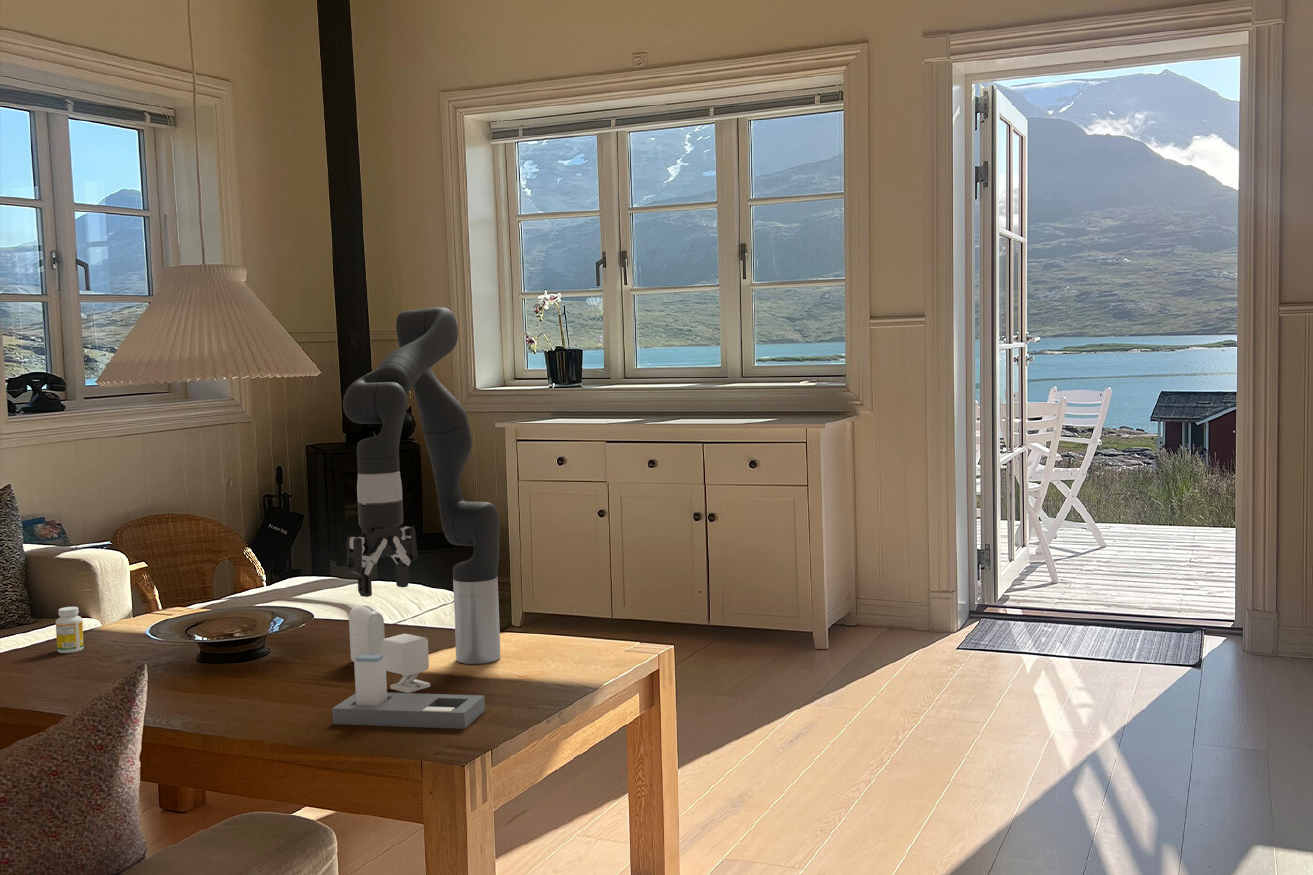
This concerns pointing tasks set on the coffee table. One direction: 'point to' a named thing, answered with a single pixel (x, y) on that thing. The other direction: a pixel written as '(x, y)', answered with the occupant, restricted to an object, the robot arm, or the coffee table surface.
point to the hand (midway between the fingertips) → (384, 591)
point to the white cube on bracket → (406, 660)
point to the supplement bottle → (69, 630)
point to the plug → (370, 680)
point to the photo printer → (365, 631)
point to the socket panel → (413, 711)
